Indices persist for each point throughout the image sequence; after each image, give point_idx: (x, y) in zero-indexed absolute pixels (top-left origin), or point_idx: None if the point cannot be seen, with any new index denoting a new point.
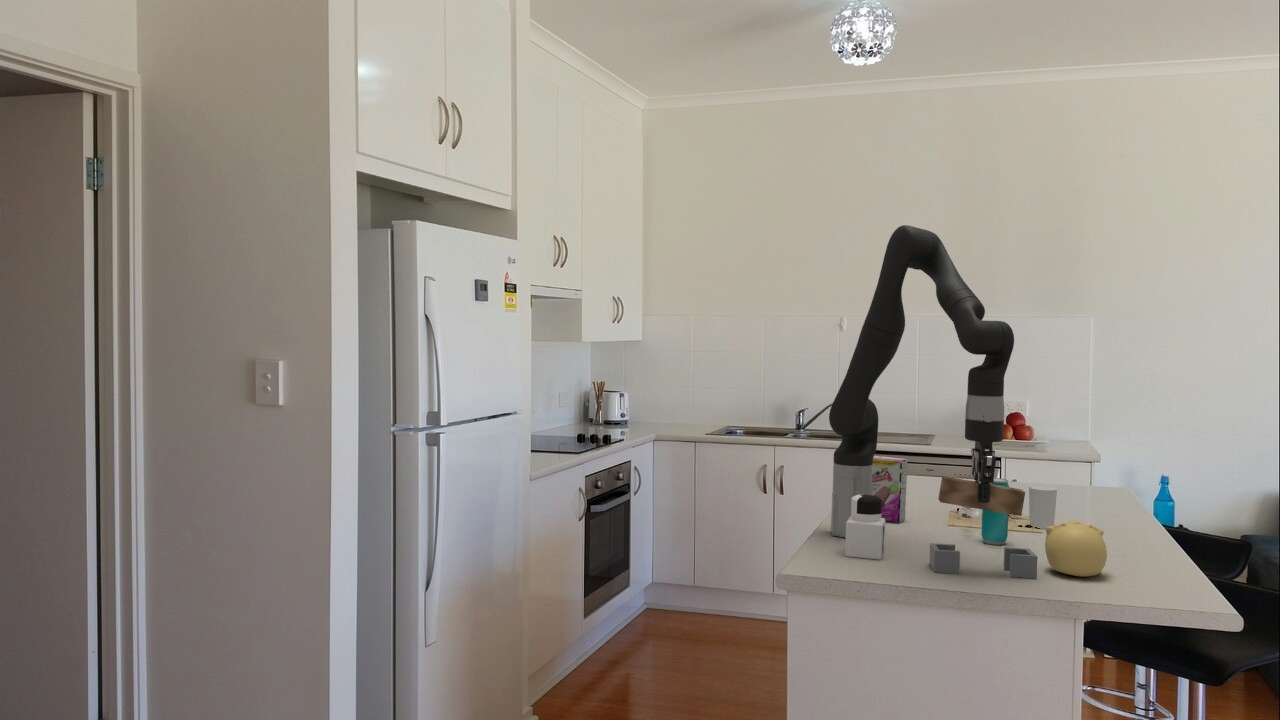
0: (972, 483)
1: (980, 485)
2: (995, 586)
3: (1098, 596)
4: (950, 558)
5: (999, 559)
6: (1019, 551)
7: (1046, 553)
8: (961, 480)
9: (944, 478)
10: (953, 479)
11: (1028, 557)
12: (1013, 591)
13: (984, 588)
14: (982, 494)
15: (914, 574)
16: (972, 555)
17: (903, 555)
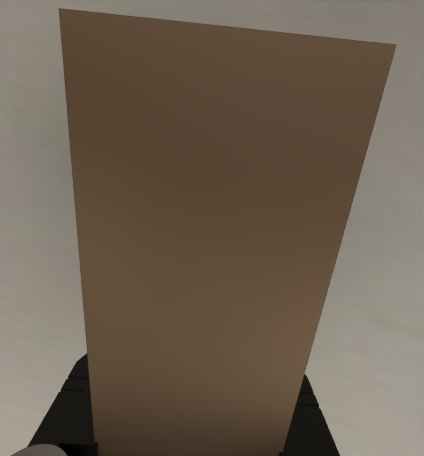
0: (91, 394)
1: (66, 445)
2: (43, 227)
3: (23, 417)
4: None
5: (340, 315)
6: None
7: None
8: (186, 309)
9: (93, 13)
10: (149, 196)
11: None
12: (5, 258)
13: (11, 192)
14: (66, 388)
15: (121, 10)
16: (384, 257)
17: (380, 31)
